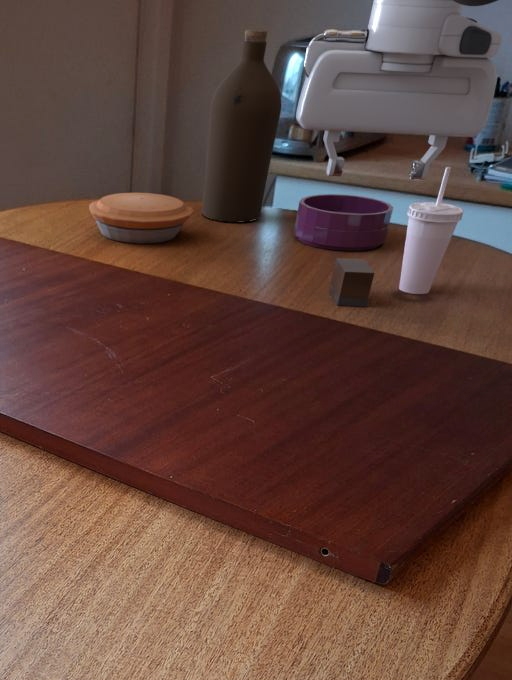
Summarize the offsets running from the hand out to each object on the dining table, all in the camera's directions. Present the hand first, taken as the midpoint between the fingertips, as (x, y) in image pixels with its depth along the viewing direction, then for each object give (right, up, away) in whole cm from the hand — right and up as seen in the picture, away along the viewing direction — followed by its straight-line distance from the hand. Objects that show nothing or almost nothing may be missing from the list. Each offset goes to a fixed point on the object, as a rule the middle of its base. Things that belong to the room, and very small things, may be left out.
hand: (375, 177), depth 101 cm
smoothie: (+10, -8, +12) cm, 17 cm away
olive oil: (-7, +16, +42) cm, 46 cm away
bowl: (+7, +7, +31) cm, 32 cm away
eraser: (0, -11, +9) cm, 14 cm away
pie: (-23, +8, +32) cm, 41 cm away
